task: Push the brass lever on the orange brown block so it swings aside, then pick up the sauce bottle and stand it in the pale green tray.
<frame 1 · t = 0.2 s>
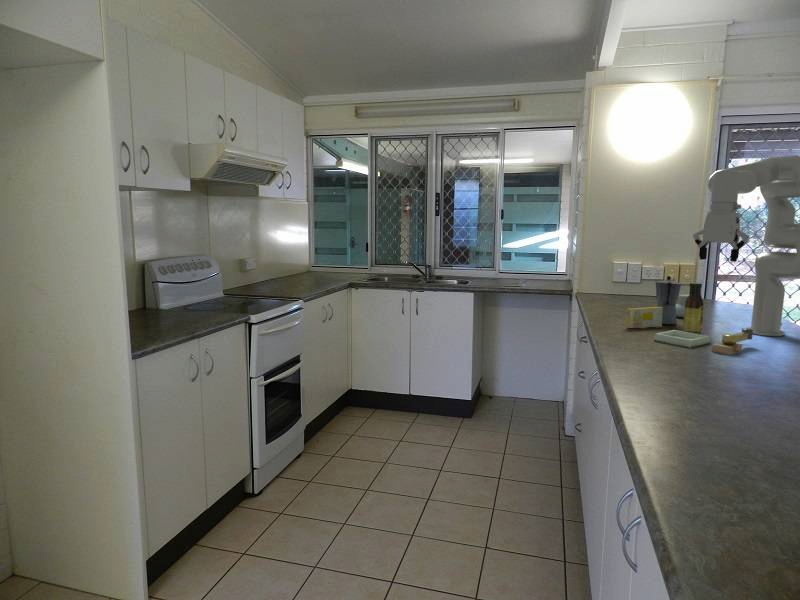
hand: (717, 260, 180), 30 cm above the countertop, tool pointing down, fingers open, 9 cm apart
moka pot: (665, 324, 228), on the countertop
air freshener: (684, 317, 244), on the countertop
sauce bottle: (691, 335, 205), on the countertop
tray: (681, 341, 193), on the countertop
orange brown block: (726, 351, 179), on the countertop
lever: (738, 336, 183), point 4 cm above the countertop, hinge at 0.0°
candy box: (644, 328, 219), on the countertop
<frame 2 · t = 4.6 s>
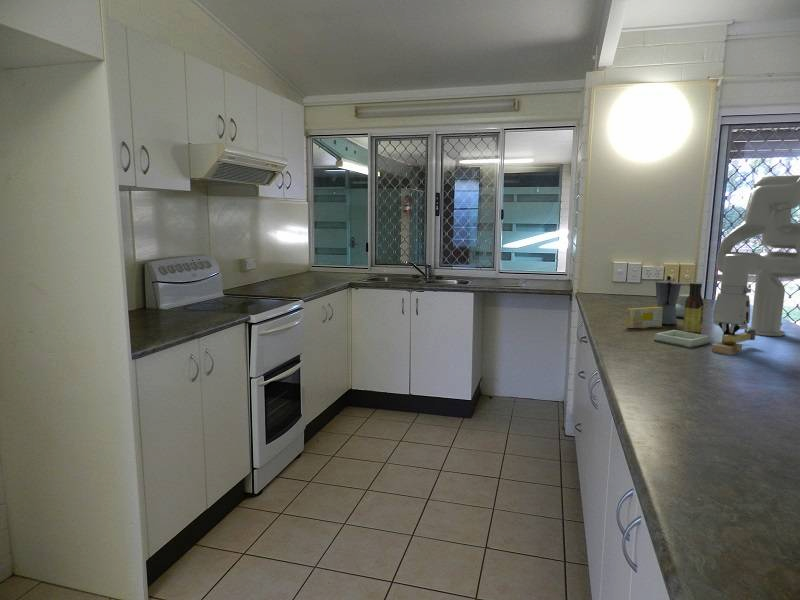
hand: (728, 343, 186), 1 cm above the countertop, tool pointing down, fingers closed
lever: (739, 336, 183), point 4 cm above the countertop, hinge at 3.9°, touching gripper
everything else where it was.
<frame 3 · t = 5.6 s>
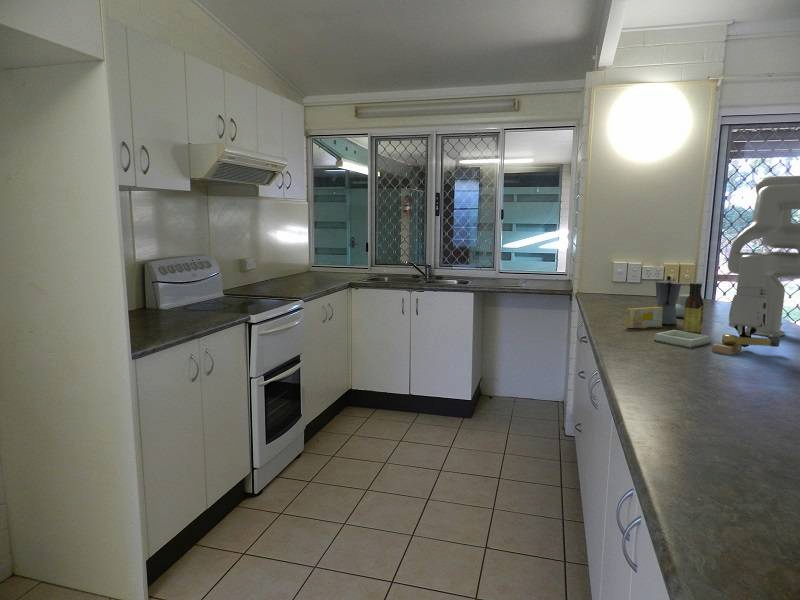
hand: (744, 346, 182), 1 cm above the countertop, tool pointing down, fingers closed
lever: (750, 339, 178), point 4 cm above the countertop, hinge at 48.9°, touching gripper
everything else where it was.
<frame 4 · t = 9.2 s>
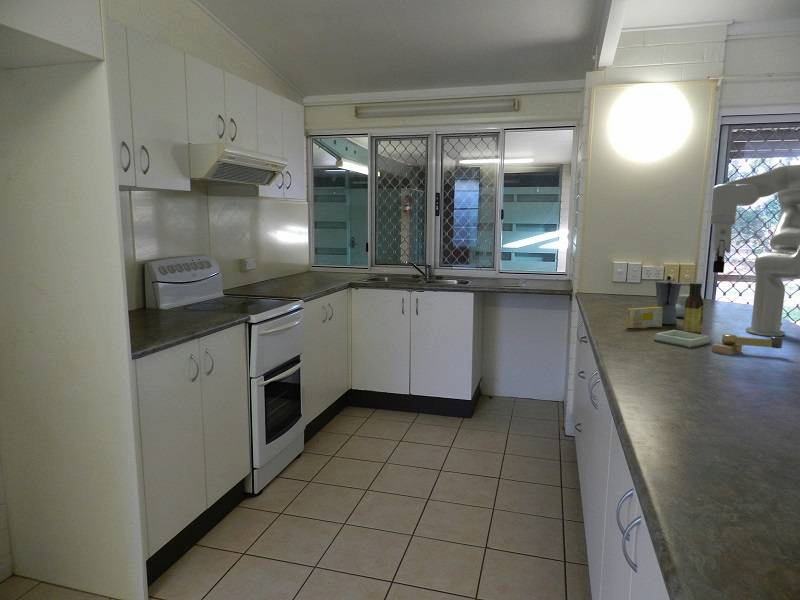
hand: (718, 272, 192), 25 cm above the countertop, tool pointing down, fingers closed
lever: (751, 340, 177), point 4 cm above the countertop, hinge at 59.6°
everything else where it was.
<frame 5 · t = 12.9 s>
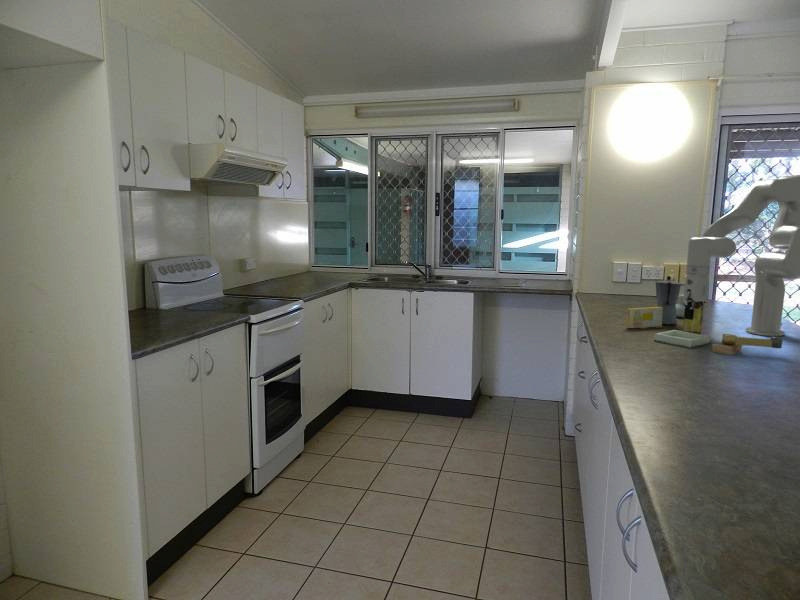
hand: (693, 317, 204), 7 cm above the countertop, tool pointing down, fingers closed on sauce bottle, 6 cm apart
sauce bottle: (691, 335, 205), on the countertop, touching gripper
everything else where it was.
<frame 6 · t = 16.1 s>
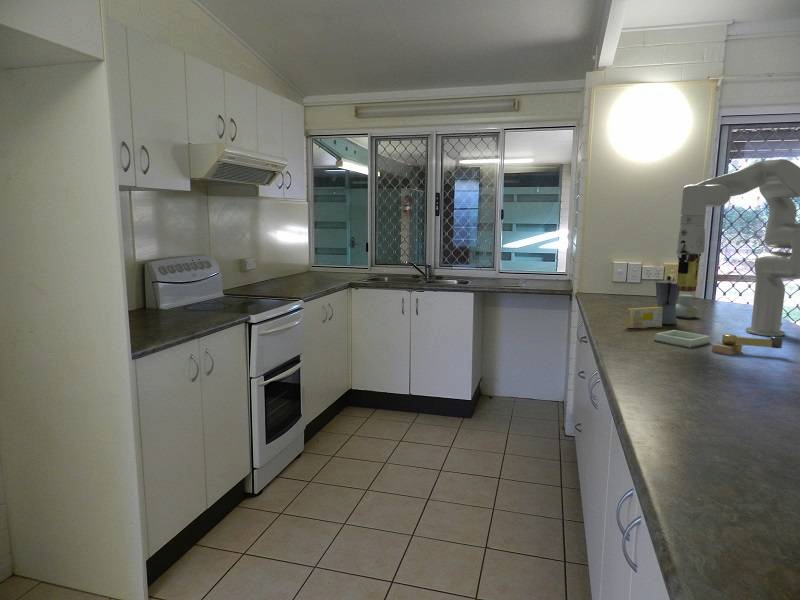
hand: (687, 272, 190), 25 cm above the countertop, tool pointing down, fingers closed on sauce bottle, 6 cm apart
sauce bottle: (686, 291, 191), point 18 cm above the countertop, touching gripper
everything else where it was.
when the fingers open (9 cm above the countertop, at t = 19.4 s): sauce bottle drops 2 cm, resting on tray.
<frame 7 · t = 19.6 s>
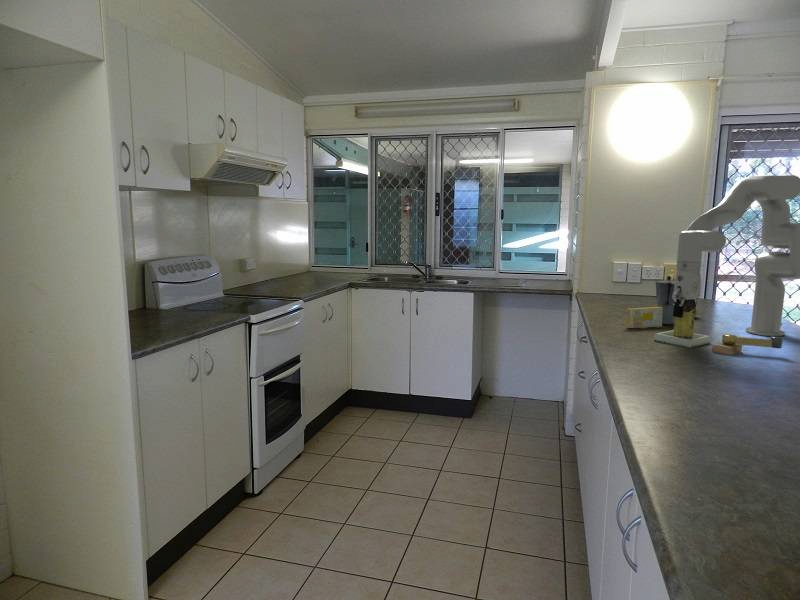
hand: (684, 315, 192), 10 cm above the countertop, tool pointing down, fingers open, 8 cm apart
sauce bottle: (682, 340, 194), resting on tray
everything else where it was.
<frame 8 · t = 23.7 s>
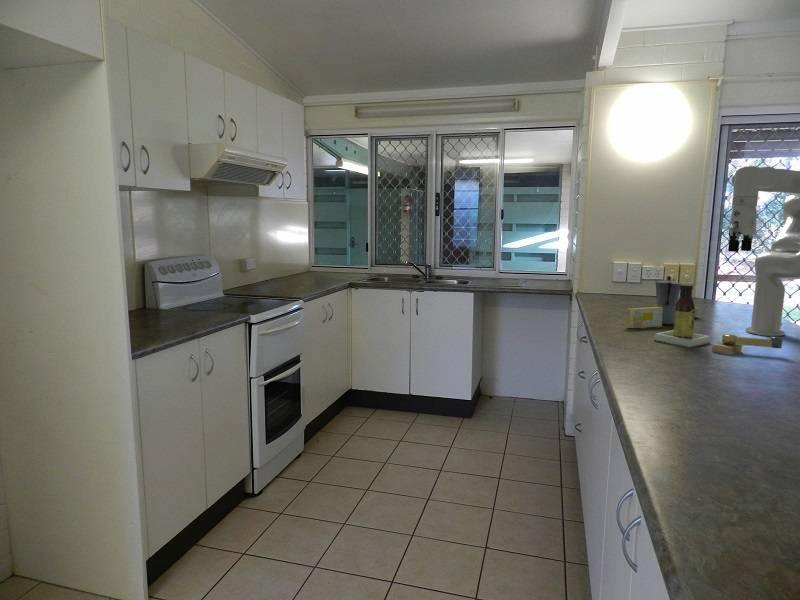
hand: (739, 251, 193), 32 cm above the countertop, tool pointing down, fingers open, 9 cm apart
nothing on the countertop moved.
at the end: lever at +60° (first picture: +0°); sauce bottle inside the target area on the tray (0.4 cm from its centre), point 0.4 cm above the tray's base; sauce bottle tilted 0° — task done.
